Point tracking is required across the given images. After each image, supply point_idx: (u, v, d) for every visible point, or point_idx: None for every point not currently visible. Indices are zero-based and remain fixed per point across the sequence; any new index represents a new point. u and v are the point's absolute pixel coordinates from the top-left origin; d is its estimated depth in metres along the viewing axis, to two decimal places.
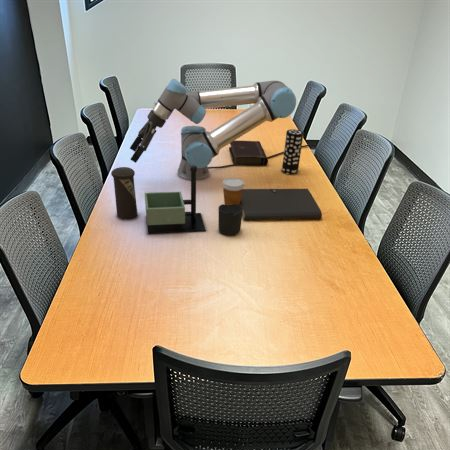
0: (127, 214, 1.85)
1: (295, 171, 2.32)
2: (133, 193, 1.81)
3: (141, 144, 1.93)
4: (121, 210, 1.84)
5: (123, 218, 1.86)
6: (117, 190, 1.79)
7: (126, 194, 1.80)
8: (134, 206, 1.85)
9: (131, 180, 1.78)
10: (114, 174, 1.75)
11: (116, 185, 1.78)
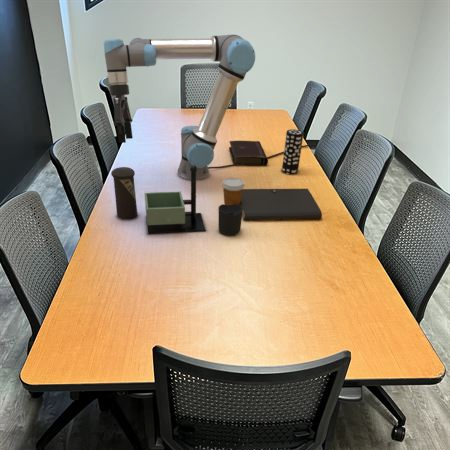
0: (127, 214, 1.85)
1: (295, 171, 2.32)
2: (133, 193, 1.81)
3: None
4: (121, 210, 1.84)
5: (123, 218, 1.86)
6: (117, 190, 1.79)
7: (126, 194, 1.80)
8: (134, 206, 1.85)
9: (131, 180, 1.78)
10: (114, 174, 1.75)
11: (116, 185, 1.78)
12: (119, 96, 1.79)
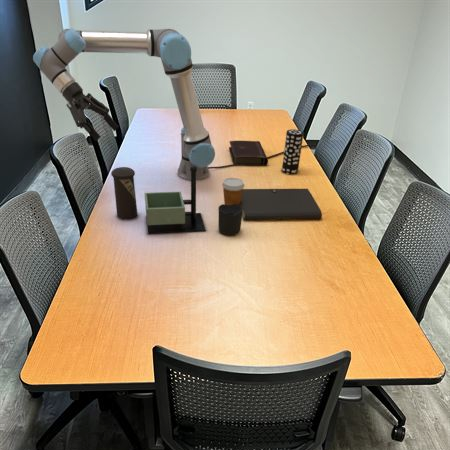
0: (127, 214, 1.85)
1: (295, 171, 2.32)
2: (133, 193, 1.81)
3: None
4: (121, 210, 1.84)
5: (123, 218, 1.86)
6: (117, 190, 1.79)
7: (126, 194, 1.80)
8: (134, 206, 1.85)
9: (131, 180, 1.78)
10: (114, 174, 1.75)
11: (116, 185, 1.78)
12: (72, 98, 1.72)
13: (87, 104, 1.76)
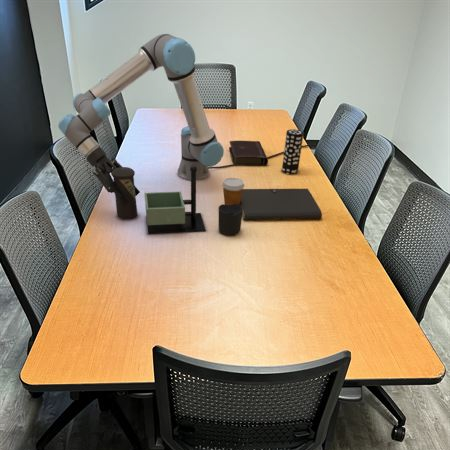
0: (127, 214, 1.85)
1: (295, 171, 2.32)
2: (133, 193, 1.81)
3: None
4: (121, 210, 1.84)
5: (123, 218, 1.86)
6: None
7: (126, 194, 1.80)
8: (134, 206, 1.85)
9: (131, 180, 1.78)
10: (114, 174, 1.75)
11: (116, 185, 1.78)
12: (96, 163, 1.75)
13: (110, 167, 1.80)
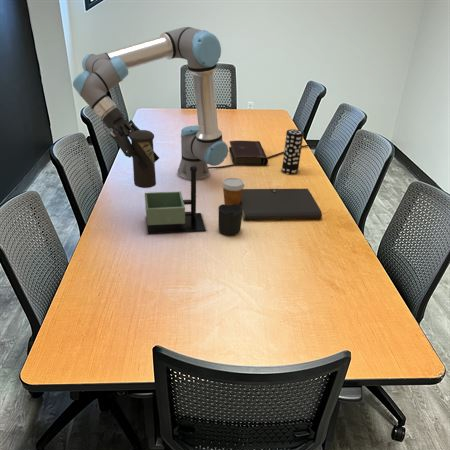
0: (145, 182, 1.73)
1: (295, 171, 2.32)
2: (152, 158, 1.69)
3: None
4: (139, 177, 1.72)
5: (141, 186, 1.74)
6: None
7: (145, 159, 1.67)
8: (153, 173, 1.73)
9: (150, 143, 1.65)
10: (132, 136, 1.63)
11: (134, 149, 1.66)
12: (113, 125, 1.63)
13: (128, 130, 1.67)
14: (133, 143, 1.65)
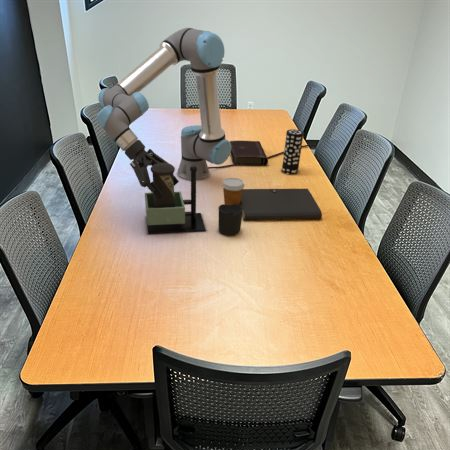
0: None
1: (295, 171, 2.32)
2: (172, 190, 1.74)
3: None
4: None
5: None
6: None
7: (166, 191, 1.72)
8: (173, 203, 1.77)
9: (171, 176, 1.70)
10: (154, 170, 1.68)
11: (155, 181, 1.71)
12: (135, 157, 1.68)
13: (149, 161, 1.72)
14: (154, 176, 1.70)
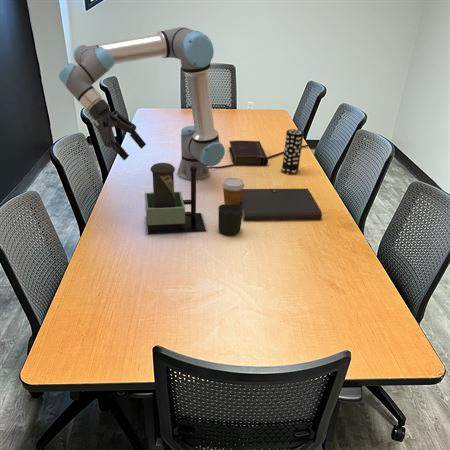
0: None
1: (295, 171, 2.32)
2: (172, 190, 1.74)
3: None
4: None
5: None
6: (156, 187, 1.72)
7: (166, 191, 1.72)
8: (173, 203, 1.77)
9: (171, 176, 1.70)
10: (154, 170, 1.68)
11: (155, 181, 1.71)
12: (99, 116, 1.65)
13: (114, 122, 1.69)
14: (154, 176, 1.70)
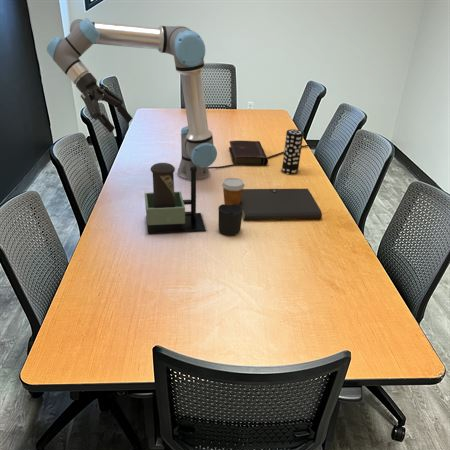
0: None
1: (295, 171, 2.32)
2: (172, 190, 1.74)
3: None
4: None
5: None
6: (156, 187, 1.72)
7: (166, 191, 1.72)
8: (173, 203, 1.77)
9: (171, 176, 1.70)
10: (154, 170, 1.68)
11: (155, 181, 1.71)
12: (86, 89, 1.69)
13: (101, 95, 1.73)
14: (154, 176, 1.70)
